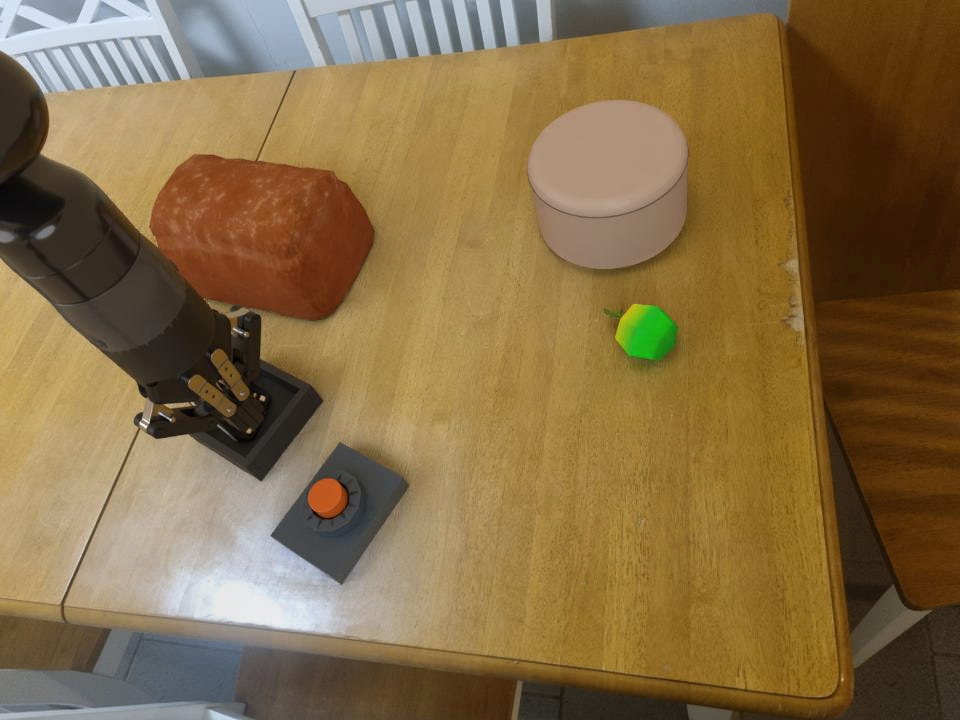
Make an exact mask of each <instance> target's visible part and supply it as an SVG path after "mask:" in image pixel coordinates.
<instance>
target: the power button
mask: <svg viewBox="0 0 960 720" xmlns="http://www.w3.org/2000/svg"><path fill="white" fill-rule="evenodd" d="M347 501H348V495H347V492H346V490H345V489H344V487H343V486H342V485H341V484H340V483H339V482H338V481H336V480H334V479H331V478H326V479H322V480H320V481H318V482H317V483H315V484H314V485H313V487H312V488H311V490H310V492H309V495H308V503H309V505H310V507H311V508H312V509H313V510H314V511H315V512H316V513H317V514H318V515H320V516H321V517H324V518H332V517H335V516H337V515H338V514H340V513H341V512H342V511H343V510H344V508H345V507H346V505H347Z"/></svg>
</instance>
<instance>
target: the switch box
mask: <svg viewBox="0 0 960 720" xmlns="http://www.w3.org/2000/svg"><path fill="white" fill-rule="evenodd" d="M326 478H331V479H334V480H336V481H338V482H339V483H340V484H341V485H342V486H343V487H344V489H345V490H346V492H347V495H348V501H347V505H346V507H345V508H344V510H343V511H342V512H341V513H340V514H338V515H337V516H335V517H332V518H324V517H321V516H320V515H318V514H317V513H316V512H315V511H314V510H313V509H312V508H311V507H310V505H309V503H308V495H309V492H310V490H311V488H312V487H313V485H314V484H315V483H317V482H318V481H320V480H322V479H326ZM409 487H410V484H409V483H408V482H407V480H406V479H405V477H404V476H402V475H400V474H398V473H397V472H395V471H393V470H392V469H389V468H388V467H386V466H384V465H382V464H381V463H379V462H377V461H375V460H374V459H372V458H370V457H368V456H366V455H365V454H362V453H361V452H359V451H358V450H355V449H354V448H352V447H350V446H348V445H346V444H344V443H343V442H341V441H339V442H338V444H337V445H336V446H335V448H334V449H333V450H332V452H331V453H330V454H329V456H328V457H327V459H325V460H324V463H323V464H322V465H321V467H320V468H319V469H318V470H317V472H316V473H315V475H314V476H313V477H312V479H311V480H310V481H309V483H308V484H307V485H306V487H305V488H304V489H303V491H302V492H301V493H300V495H299V496H298V498H297V499H296V500H295V501H294V503H293V504H292V505H291V507H290V508H289V510H288V511H287V512H286V513H285V515H284V516H283V518H282V519H281V520H280V521H279V523H278V524H277V526H276V527H275V529H274V530H273V531H272V532H271V533H270V535H269V536H270V538H272V539H273V540H275V541H276V542H277V543H279V544H280V545H282V546H283V547H284V548H286V549H288V550H289V551H291V552H292V553H294V554H295V555H297V556H298V557H299V558H301V559H302V560H304V561H305V562H307V563H308V564H310V565H311V566H313V567H314V568H316V569H317V570H318V571H320V572H322V573H323V574H324V575H326V576H328V577H329V578H330V579H332V580H333V581H334V582H336V583H338V584H339V585H341V586H342V585H343V584H344V582H345V581H346V580H347V578H348V576H349V575H350V573H351V572H352V570H353V569H354V567H355V566H356V564H357V563H358V562H359V560H360V559H361V557H362V556H363V554H364V553H365V551H366V550H367V549H368V547H369V545H370V544H371V543H372V542H373V540H374V538H375V537H376V536H377V534H378V532H379V531H380V529H381V528H382V526H383V525H384V523H385V522H386V521H387V519H388V517H390V515H391V513H392V511H393V510H395V507H396V506H397V505H398V503H399V502H400V500H401V499H402V497H403V496H404V494H405V493H406V492H407V490H408V489H409Z"/></svg>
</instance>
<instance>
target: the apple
mask: <svg viewBox="0 0 960 720" xmlns="http://www.w3.org/2000/svg"><path fill="white" fill-rule="evenodd" d="M601 309H602V311H603V312H604V314H605V315H606V316H609V317H608V318H609V319H610V318H615V319H618V324H617V328H616V333H615V336H614V339H615V341H617V343H618V344H619V345H620V347H621V348H622V349H623V351H624V352H625V353H626V355H628V356H630V357H633V358H637V359H643V360H650V361H656V362H660V361H661V360H662V359H663V358H665V357H666V356H667V355H668V354H669V353H670V352H671V351H672V350H673V349H675V345H676V342H677V341H676V340H677V336H678V332H679V326H678V325H677V323H676V322H675V321H674V320H673V318H671V316H670V315H669V314H668V313H667V312H666V311H665V310H664V309H662V308H660V307H659V306H657V305H651V304H640V303H633V304H632V305H631V306H630V307H629V308H628V309H627V310H626V311H625V312H624V313H623V308H621V309H619V310H618V311H616V312H614V311H612V310H611V309H610V308H601ZM621 314H623V315H622V316H621V317H620V315H621Z"/></svg>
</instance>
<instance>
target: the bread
mask: <svg viewBox="0 0 960 720" xmlns="http://www.w3.org/2000/svg"><path fill="white" fill-rule="evenodd" d="M148 228H149V230H150V232H151V235H153V236H154V238H155V241H156V244H157V247H158V248H159V249H160V250H161V251H162V252H163V253H164V254H165V256H166V257H168V258H170V259H171V260H172V261H173V262H174V263H175V265H176V266H177V267H178V270H179V272H180V273H181V274H182V275H183V276H184V277H185V279H186V280H187V281H188V282H189V283H190V284H191V285H192V287H193V288H194V289H195V290H196V291H197V292H198V293H199V295H200V296H201V297H202V298H203V299H204V300H211V301H216V302H221V303H226V304H229V305H233V306H234V305H237V304H238V305H241V306H243V307H245V308H248V309H249V308H250V309H253V310H254V309H255V310H260V311H263V312H269V313H274V314H277V315H280V316H282V317H288V318H293V319H299V320H305V321H310V322H314V321H317V320H322V319H325V318H328V317H329V316H330V315H331V314H332V313H333V312H334V311H335V310H336V309H337V308H338V307H339V306H340V305H341V303H342V301H343V300H344V298H345V296H347V293H348V292H349V290H350V288H351V287H352V285H353V283H354V281H355V280H356V278H357V276H358V274H359V272H360V270H361V268H363V265H364V263H365V261H366V258H367V256H368V255H369V253H370V250H371V249H372V246H373V244H374V237H375V229H374V227H373V224H372V222H371V220H370V218H369V215H368V213H367V211H366V208H365V207H364V206H363V204H362V203H361V201H360V200H359V199H358V198H357V196H356V194H355V193H354V191H353V190H352V189H351V187H350V186H349V185H348V183H347V182H345V181H343V180H341V179H339V178H338V177H337V174H336V172H335V171H334V170H328V169H322V168H314V167H300V166H295V165H290V164H286V163H277V162H276V163H275V162H270V161H265V160H250V159H246V158H226V157H222V156H219V155H216V154H207V153H205V154H200V153H198V154H196V153H194V154H192V155H190V157H188V158H187V159H186V160H184V161H183V162H182V163H180V164H179V165H178V166H176V168H175V169H174V170H173V172H172V174H171V175H170V176H169V177H168V179H167V181H165V184H164V185H163V187H162V188H161V189H160V190H159V192H158V193H157V196H156V198H155V201H154V204H153V206H152V209H151V215H150V220H149V226H148Z"/></svg>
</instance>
